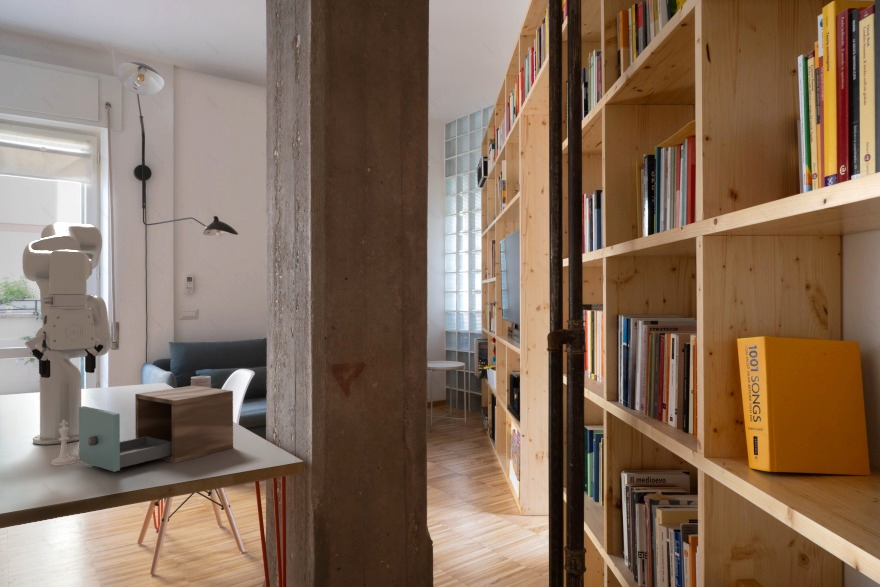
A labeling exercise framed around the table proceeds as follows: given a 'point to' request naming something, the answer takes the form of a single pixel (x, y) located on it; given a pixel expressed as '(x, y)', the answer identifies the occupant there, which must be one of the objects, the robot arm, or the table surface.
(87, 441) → the drawer
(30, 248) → the robot arm
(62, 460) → the chess piece
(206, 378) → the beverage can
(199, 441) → the cabinet
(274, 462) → the table surface
